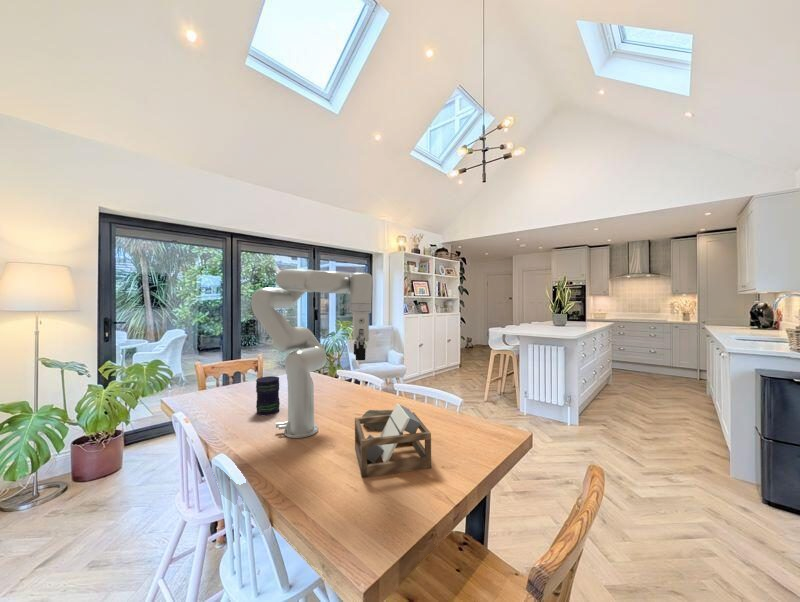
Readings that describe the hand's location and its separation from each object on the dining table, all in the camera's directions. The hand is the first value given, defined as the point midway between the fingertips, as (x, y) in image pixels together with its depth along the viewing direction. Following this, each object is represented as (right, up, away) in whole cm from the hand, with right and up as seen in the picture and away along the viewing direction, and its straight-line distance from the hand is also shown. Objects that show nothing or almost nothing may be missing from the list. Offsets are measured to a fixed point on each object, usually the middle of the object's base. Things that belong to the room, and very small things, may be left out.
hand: (359, 357), depth 112 cm
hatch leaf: (+16, -24, -8) cm, 30 cm away
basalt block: (+7, -29, -10) cm, 31 cm away
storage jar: (-46, -31, +33) cm, 65 cm away
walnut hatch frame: (+11, -31, -9) cm, 34 cm away
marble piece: (+7, -31, +19) cm, 37 cm away
